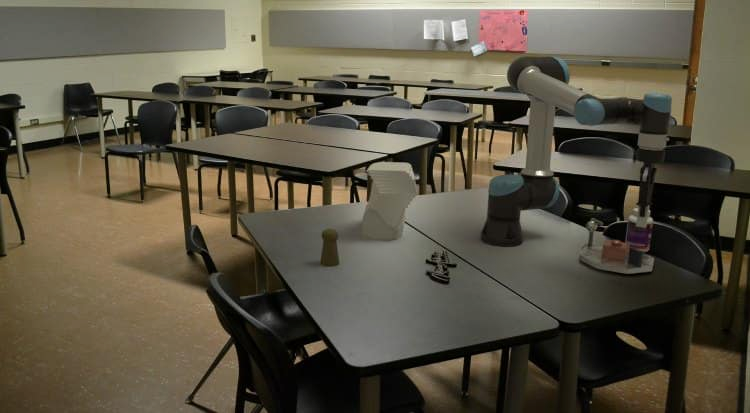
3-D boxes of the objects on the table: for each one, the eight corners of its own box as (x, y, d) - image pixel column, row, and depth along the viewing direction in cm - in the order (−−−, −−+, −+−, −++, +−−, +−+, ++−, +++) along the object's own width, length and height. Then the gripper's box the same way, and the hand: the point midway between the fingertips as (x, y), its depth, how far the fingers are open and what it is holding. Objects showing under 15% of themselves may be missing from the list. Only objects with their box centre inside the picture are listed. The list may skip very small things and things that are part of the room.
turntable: (567, 253, 212) (569, 234, 210) (621, 248, 219) (623, 229, 217) (610, 275, 192) (612, 255, 190) (668, 269, 199) (671, 249, 197)
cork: (342, 261, 201) (342, 228, 198) (334, 267, 195) (335, 233, 193) (324, 259, 203) (325, 226, 200) (317, 265, 197) (317, 231, 194)
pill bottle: (651, 254, 216) (657, 214, 212) (626, 252, 217) (631, 212, 214) (646, 247, 224) (651, 208, 220) (622, 245, 225) (627, 206, 222)
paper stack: (353, 240, 222) (354, 169, 216) (371, 220, 248) (373, 156, 241) (412, 246, 218) (415, 173, 211) (424, 225, 243) (428, 160, 237)
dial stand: (580, 250, 218) (584, 220, 215) (585, 246, 223) (588, 216, 220) (599, 254, 215) (602, 223, 212) (603, 249, 220) (606, 219, 217)
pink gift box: (601, 256, 204) (603, 242, 203) (606, 251, 210) (608, 236, 209) (624, 260, 201) (626, 246, 199) (628, 255, 206) (630, 240, 205)
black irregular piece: (461, 281, 184) (427, 280, 184) (461, 286, 184) (427, 285, 184) (453, 251, 210) (423, 250, 211) (452, 255, 211) (423, 254, 211)
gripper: (662, 152, 174) (651, 233, 180) (668, 146, 185) (658, 223, 191) (633, 149, 178) (623, 229, 184) (641, 144, 189) (631, 219, 195)
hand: (641, 226), depth 187 cm, fingers closed
